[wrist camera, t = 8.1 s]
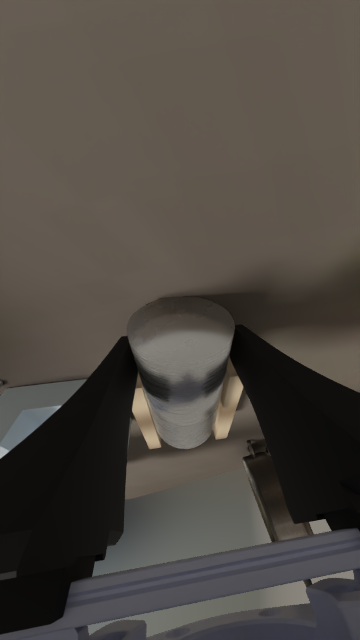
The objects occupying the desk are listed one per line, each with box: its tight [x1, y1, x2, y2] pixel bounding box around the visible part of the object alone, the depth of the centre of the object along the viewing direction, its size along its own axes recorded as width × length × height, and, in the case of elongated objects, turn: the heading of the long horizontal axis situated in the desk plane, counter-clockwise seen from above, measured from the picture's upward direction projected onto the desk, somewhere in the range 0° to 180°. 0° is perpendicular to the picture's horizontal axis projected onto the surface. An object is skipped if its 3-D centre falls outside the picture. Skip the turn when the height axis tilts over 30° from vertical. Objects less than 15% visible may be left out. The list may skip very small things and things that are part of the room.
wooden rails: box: [132, 356, 243, 449], centre depth 14 cm, size 11×8×2 cm
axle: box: [127, 296, 235, 449], centre depth 10 cm, size 9×5×5 cm, turn 2°
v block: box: [0, 379, 132, 458], centre depth 13 cm, size 8×8×4 cm
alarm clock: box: [243, 441, 314, 587], centre depth 22 cm, size 11×5×16 cm, turn 15°
